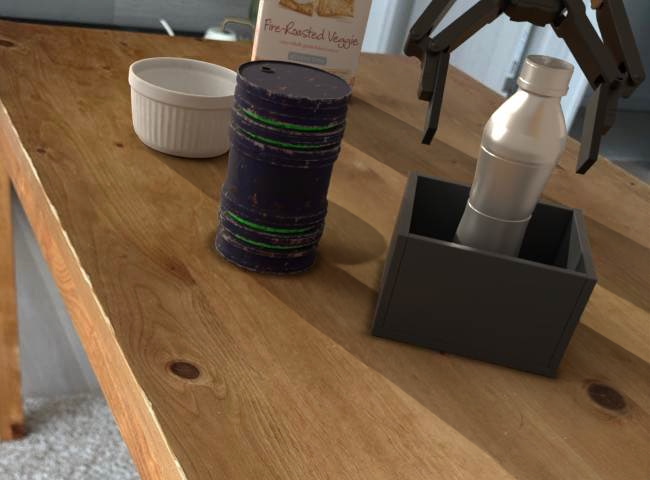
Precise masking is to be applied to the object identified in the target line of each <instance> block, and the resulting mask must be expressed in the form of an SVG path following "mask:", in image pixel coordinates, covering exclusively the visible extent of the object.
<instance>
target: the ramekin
mask: <svg viewBox="0 0 650 480" xmlns="http://www.w3.org/2000/svg"><path fill="white" fill-rule="evenodd" d="M236 76H237V71H234V70H232V69H229V68H227V67H224V66H222V65H218V64H215V63H211V62H207V61H202V60H197V59H191V58H182V57H171V56H170V57H165V56H163V57H150V58H149V57H148V58H143V59H140V60H137V61H135V62H133V63H132V64H131V65H130V66H129V71H128V84H129V85H130V99H131V102H130V103H131V114H132V115H131V117H132V125H133V130H134V132H135V133H136V136H137V137H138V138H139V140H140V141H141V143H142V144H144V145H145V146H146V147H149V148H151V149H152V150H154V151H157V152H160V153H163V154H167V155H171V156H174V157H181V158H188V159H189V158H190V159H206V158H208V159H209V158H214V157H215V158H216V157H218V156H222V155H223V154H226V153H227V152H229V151H230V142H229V138H228V136H229V132H228V128H229V126H230V121H231V118H230V114H231V106H232V101H233V99H234V92H235V87H236V85H237V81H236Z"/></svg>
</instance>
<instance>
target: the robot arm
mask: <svg viewBox="0 0 650 480" xmlns="http://www.w3.org/2000/svg"><path fill="white" fill-rule="evenodd" d="M457 1H458V0H431V1H430V2H429V4H428V5H427V6H426V8H425V9H424V10H423V12H422V13H421V14H420V15H419V17H418V18H417V19H416V21H415V22H414V23H413V24H412V26H411V27H410V29H409V30H408V34H407V36H406V39H405V43H404V45H403V49H402V52H403V54H404V56H406V57H409V58H412V57H414V58H417V59H418V60H419V62H420V66H419V67H420V76H419V81H418V86H417V92H416V94H417V99H418V101H424V102H428V103H427V107H426V112H425V118H424V124H423V130H422V136H421V140H420V142H421V143H420V145H426V146H430V145H431V144H432V141H433V139H434V137H435V135H436V133H437V131H438V127H439V123H440V116H441V111H442V105H443V99H444V93H445V87H446V81H447V76H448V70H449V64H450V60H451V53H453V52H454V51H455V50H456V49H458V48H459V47H460V46H461V45H463V44H464V43H466V42H467V41H468V40H469V39H470V38H472V37H473V36H474V35H476V33H478V32H479V31H480V30H482V29H483V28H484V27H485V26H487V25H490V24H492V23H493V22H494V21H495V20H497V19H498V18H499V17H500V16H502V15H503V14H504V15H506V16H507V17H508V18H509V20H508V21H510V22H514V23H529V24H531V25H533V26H536V27H540V28H545V27H546V26H547V25H550V27H551V29H552V30H553V31H554V33H555V35H556V37H557V38H559V39H562V40H563V42H564V43H565V45H566V46H567V48H568V50H569V52H570V53H571V55H572V57H573V58H574V60H575V62H576V64H577V65H578V67H579V68H580V70H581V72H582V74H583V75H584V78H586V81H587V82H588V84H589V85H590V87H591V89H592V91H593V93H592V95H591V96H590V97H589V99H587V103H586V107H585V108H586V109H585V112H584V113H585V114H584V119H583V126H582V131H581V137H580V144H579V150H578V154H577V155H578V156H577V161H576V167H575V174H577V175H582V176H585V174H586V173H587V172H588V171H589V170H590V169H591V168H592V167H593V166H594V165H595V163H597V161H598V159H599V153H600V147H601V140H602V136H605V135H606V134H607V133H609V131H610V130H611V129H612V127H613V126H614V125H615V122H616V115H617V111H618V105H619V99H620V98H622V99H623V100H627V99H630V98H631V97H632V96H633V95H634V93H636V91H637V90H638V89H639V88H640V86H641V85H642V84H643V83H644V82H645V81H646V76H647V75H646V71H645V69H644V68H645V67H644V65H643V62H642V59H641V55H640V52H639V49H638V45H637V43H636V40H635V39H636V38H635V36H634V33H633V28H632V26H631V23H630V20H629V17H628V13H627V9H626V7H625V3H624V1H623V0H589V1H590V10H593V11H595V19H596V23H597V24H596V25H597V27H598V30H599V34H600V35H599V34H598V32H597V30H596V29H595V27H594V25H593V23H592V22H591V20H590V18H589V17H588V15H587V6H586V3H585V1H584V0H478V1H477V2H476V3H475V4H474V5H472V6H470V8H468V9H467V10H466V11H465V12H463V13H462V14H461V15H460V16H458V17H457V18H456V19H454V20H453V21H452V22H450V24H448V25H446V27H444V28H443V29H442V30H441V31H439V32H438V33H437V34H435V35H434V36H433V37H430V36H432V34H433V32H434V31H435V30H436V28H437V27H438V26H439V24H440V23H441V22H442V21H443V19H444V18H445V17H446V15H447V14H448V13H449V12H450V10H451V9H452V7H453V6H454V5H455V4H456V3H457ZM565 13H566V14H565Z"/></svg>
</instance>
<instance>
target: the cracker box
mask: <svg viewBox="0 0 650 480" xmlns="http://www.w3.org/2000/svg"><path fill="white" fill-rule="evenodd" d="M372 4H373V0H259V5H258V12H257V18H256V24H255V31H254V32H255V33H254V38H253V44H252V45H253V46H252V54H251V60H250V61H255V60H279V61H288V62H294V63H300V64H304V65H309V66H312V67H316V68H319V69H322V70H325V71H328V72H331V73H333V74H335V75H337V76H339V77H341V78H343V79H344V80H345V81H347V82H348V83H349V84H350V86H351V87H352V90H353V88H354V85H355V80H356V75H357V71H358V67H359V63H360V57H361V53H362V49H363V44H364V39H365V35H366V31H367V28H368V27H367V26H368V22H369V18H370V13H371V9H372ZM352 93H353V91H352V92H351V94H352Z"/></svg>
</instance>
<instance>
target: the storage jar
mask: <svg viewBox="0 0 650 480" xmlns="http://www.w3.org/2000/svg"><path fill="white" fill-rule="evenodd" d="M236 70H237V71H236V73H237V76H236V81H237V85H236V87H235V92H234V99H233V101H232V106H231V114H230V118H231V121H230V126H229V128H228V132H229V136H228V138H229V142H230V149H229V151H228V152H229V153H228V161H227V168H226V176H225V177H226V178H225V179H224V180H223V182H222V183H221V189H220V192H219V195H220V198H219V201H218V207H217V208H218V209H217V215H216V216H217V224H216V225H217V226H216V228H217V233H216V234H215V242H214V244H215V248H216V251H217V252H218V253H219V255H221V257H223V258H224V259H225V260H227V261H228V262H230V263H232V264H234V265H236V266H238V267H240V268H242V269H246V270H249V271H251V272H257V273H261V274H268V275H282V276H283V275H294V274H295V275H296V274H299V273H304V272H306V271H307V270H309V269H311V268H312V267H313V266H314V265H315V263H316V261H317V257H318V250H317V249H318V248H319V246H320V243H321V238H322V237H323V234H324V231H325V224H326V217H327V215H328V212H329V211H328V209H329V208H328V207H329V200H328V198H327V197H328V192H329V188H330V184H331V178H332V174H333V168H334V165H335V163H336V161H337V160H338V159H339V155H340V153H341V151H342V146H341V145H342V140H343V138H344V136H345V131H346V127H347V120H346V119H347V117H348V116H347V115H348V111H349V106H348V104H349V103H350V101H351V98H352V93H353V89H352V87H351V86H350V84H349V83H348V82H347V81H345V80H344V79H343V78H341V77H339V76H337V75H335V74H333V73H331V72H328V71H325V70H322V69H319V68H316V67H312V66H309V65H304V64H300V63H294V62H288V61H279V60H255V61H251V60H249V61H245V62H243V63H241V64H239V65H238V67H237V69H236ZM351 92H352V93H351Z"/></svg>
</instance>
